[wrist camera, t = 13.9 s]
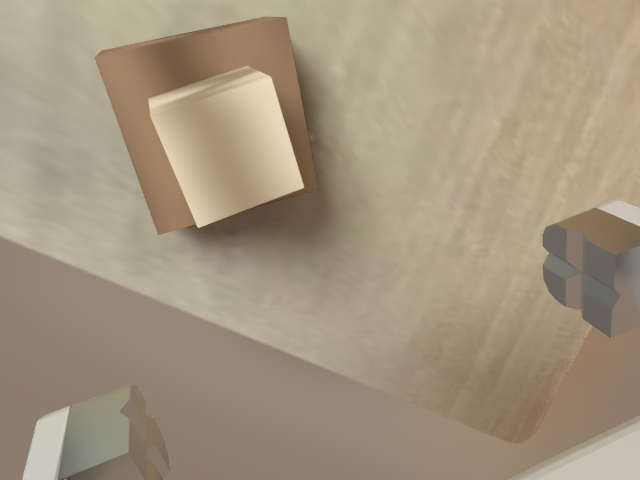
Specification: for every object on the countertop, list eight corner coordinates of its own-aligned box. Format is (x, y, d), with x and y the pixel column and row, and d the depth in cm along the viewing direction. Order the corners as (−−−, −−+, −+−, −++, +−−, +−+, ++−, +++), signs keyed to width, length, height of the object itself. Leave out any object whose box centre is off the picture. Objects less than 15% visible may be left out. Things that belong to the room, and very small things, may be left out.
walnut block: (264, 16, 29) (286, 17, 24) (294, 165, 33) (318, 189, 29) (101, 50, 27) (94, 57, 23) (155, 203, 31) (158, 235, 27)
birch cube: (247, 65, 25) (271, 76, 20) (277, 159, 27) (304, 187, 23) (148, 98, 24) (150, 117, 20) (187, 192, 26) (197, 227, 22)
